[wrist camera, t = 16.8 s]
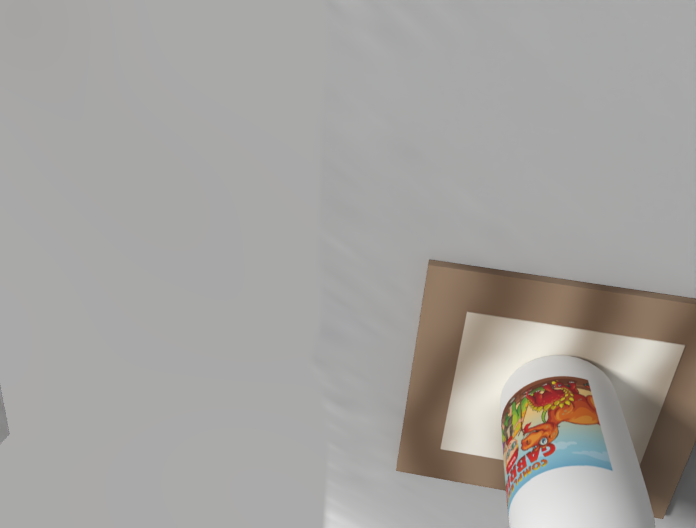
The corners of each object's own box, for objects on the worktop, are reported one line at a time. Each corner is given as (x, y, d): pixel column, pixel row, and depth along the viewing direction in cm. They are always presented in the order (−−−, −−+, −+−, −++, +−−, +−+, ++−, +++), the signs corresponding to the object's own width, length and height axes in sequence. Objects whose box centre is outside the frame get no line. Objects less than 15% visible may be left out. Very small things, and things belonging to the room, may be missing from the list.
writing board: (745, 306, 42) (750, 313, 41) (660, 510, 50) (663, 519, 49) (429, 259, 44) (428, 265, 43) (397, 463, 52) (396, 471, 52)
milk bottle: (627, 359, 44) (734, 645, 26) (601, 448, 48) (680, 754, 30) (508, 343, 45) (534, 610, 27) (491, 432, 48) (505, 720, 31)
